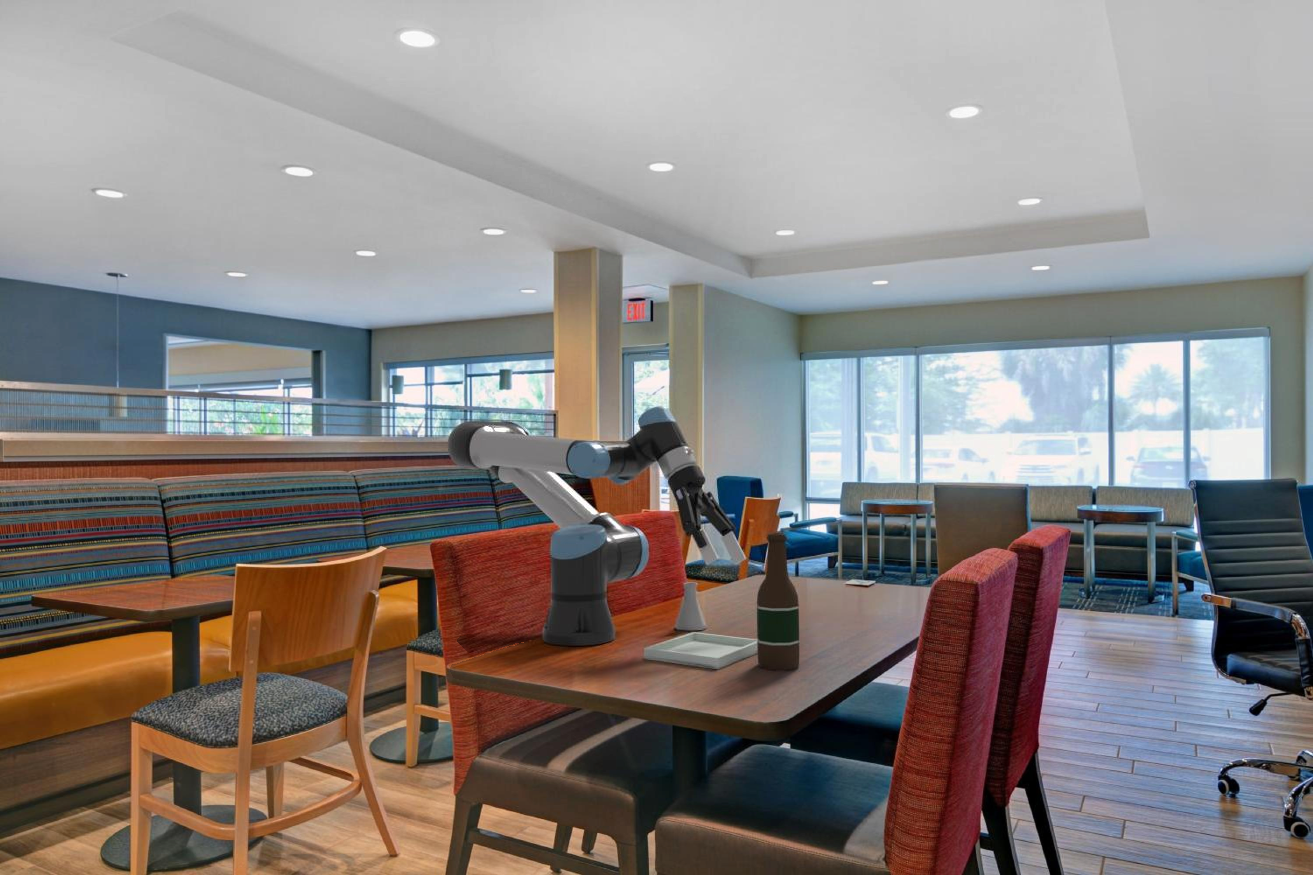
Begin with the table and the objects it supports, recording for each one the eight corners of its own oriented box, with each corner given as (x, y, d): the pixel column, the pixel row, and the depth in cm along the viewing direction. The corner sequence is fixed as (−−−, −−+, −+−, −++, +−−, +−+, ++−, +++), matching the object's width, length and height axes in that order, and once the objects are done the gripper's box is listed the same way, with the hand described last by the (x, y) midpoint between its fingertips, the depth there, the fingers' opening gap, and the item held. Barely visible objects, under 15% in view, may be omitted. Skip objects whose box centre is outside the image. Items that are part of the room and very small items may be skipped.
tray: (644, 658, 168) (644, 648, 168) (693, 641, 183) (693, 631, 183) (718, 669, 160) (717, 658, 160) (763, 650, 175) (763, 640, 175)
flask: (707, 625, 201) (707, 581, 201) (706, 631, 194) (706, 585, 194) (675, 625, 202) (675, 580, 202) (673, 631, 195) (672, 585, 195)
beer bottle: (751, 668, 160) (750, 534, 160) (763, 659, 167) (761, 530, 167) (794, 672, 157) (792, 535, 157) (804, 662, 164) (802, 531, 164)
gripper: (668, 457, 177) (715, 551, 169) (721, 469, 199) (765, 553, 191) (639, 476, 180) (684, 570, 172) (695, 486, 201) (737, 570, 194)
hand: (727, 561), depth 182 cm, fingers open, 13 cm apart
